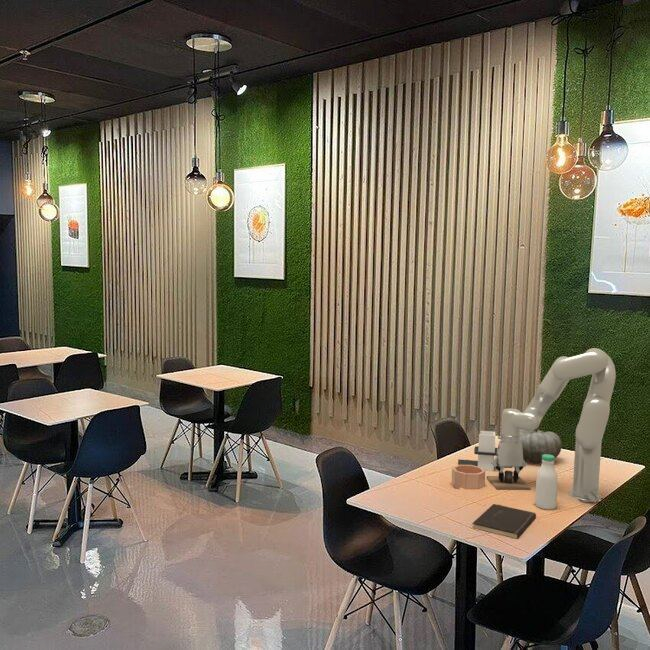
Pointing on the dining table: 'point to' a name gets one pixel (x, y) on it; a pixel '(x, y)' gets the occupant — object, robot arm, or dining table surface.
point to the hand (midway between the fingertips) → (508, 480)
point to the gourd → (539, 444)
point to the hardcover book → (504, 521)
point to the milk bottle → (546, 484)
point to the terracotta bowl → (468, 477)
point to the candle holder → (484, 452)
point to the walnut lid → (508, 482)
